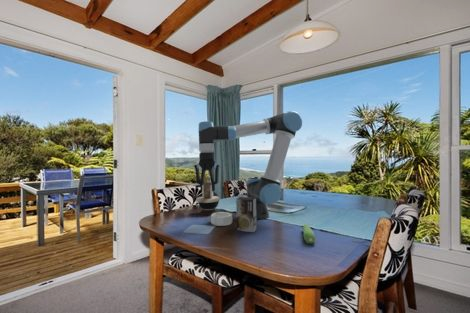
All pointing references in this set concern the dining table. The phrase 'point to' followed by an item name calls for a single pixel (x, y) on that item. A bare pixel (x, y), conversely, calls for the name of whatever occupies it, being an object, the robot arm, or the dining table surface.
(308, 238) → the green oval lump
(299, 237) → the dining table surface
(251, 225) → the coffee box
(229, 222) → the bowl
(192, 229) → the mat
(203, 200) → the lid
